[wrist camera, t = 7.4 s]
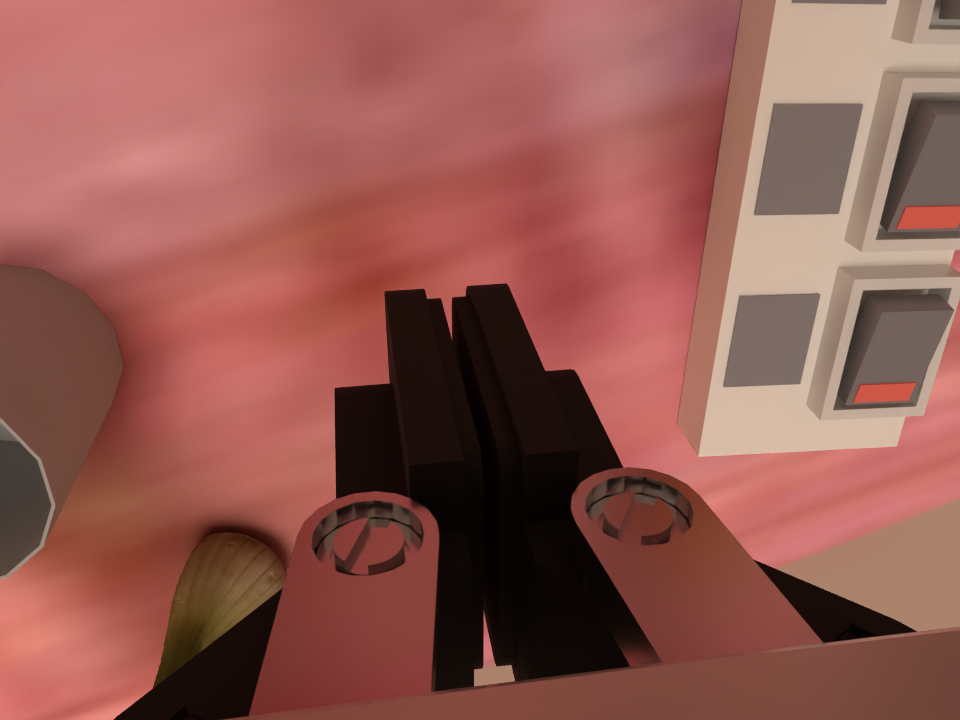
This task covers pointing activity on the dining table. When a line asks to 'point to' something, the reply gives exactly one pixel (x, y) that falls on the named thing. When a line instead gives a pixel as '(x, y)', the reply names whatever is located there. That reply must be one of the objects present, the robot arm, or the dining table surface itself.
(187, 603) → the fennel bulb
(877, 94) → the power strip
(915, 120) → the rocker middle
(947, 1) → the rocker
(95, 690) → the dining table surface
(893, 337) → the rocker
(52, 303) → the cup
